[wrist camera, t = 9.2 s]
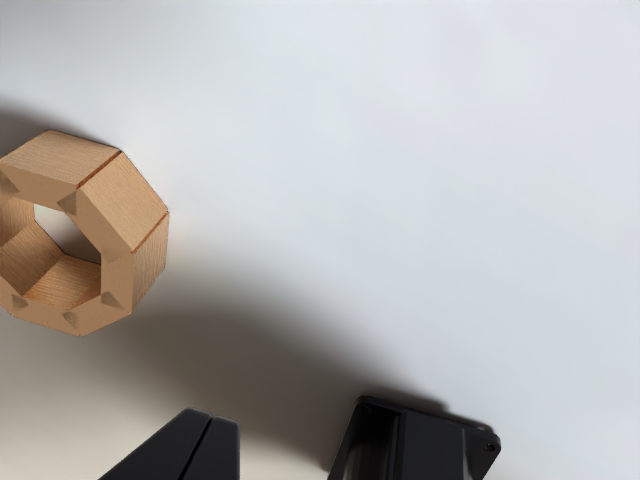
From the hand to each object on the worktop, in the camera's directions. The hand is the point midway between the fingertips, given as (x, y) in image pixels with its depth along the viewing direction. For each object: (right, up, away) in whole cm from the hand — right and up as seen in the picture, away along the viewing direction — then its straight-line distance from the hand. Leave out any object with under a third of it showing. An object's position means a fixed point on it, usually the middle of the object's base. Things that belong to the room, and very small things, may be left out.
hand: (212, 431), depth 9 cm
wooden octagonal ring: (-8, +4, +14) cm, 17 cm away
